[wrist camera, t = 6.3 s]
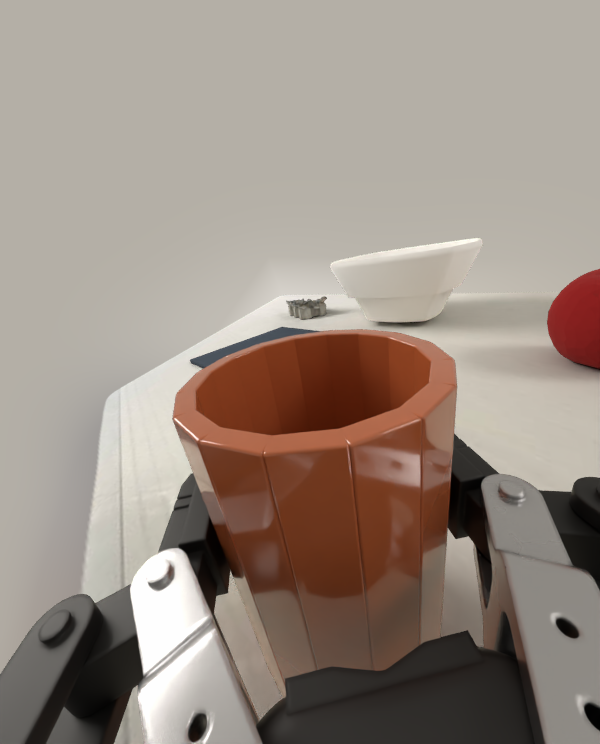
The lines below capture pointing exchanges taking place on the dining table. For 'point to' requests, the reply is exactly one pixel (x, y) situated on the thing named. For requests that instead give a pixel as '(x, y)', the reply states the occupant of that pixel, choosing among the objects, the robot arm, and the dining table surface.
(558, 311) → the apple
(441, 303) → the bowl
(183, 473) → the dining table surface
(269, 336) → the mat
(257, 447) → the cup
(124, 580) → the dining table surface
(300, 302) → the grey jagged stone ring
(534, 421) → the dining table surface
